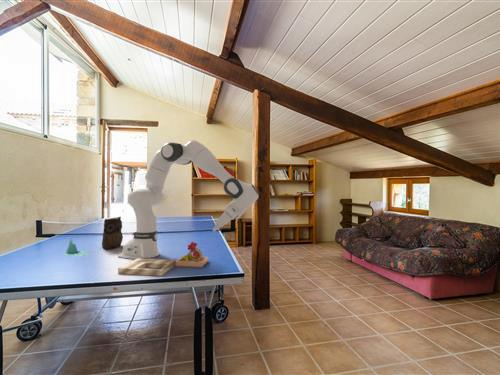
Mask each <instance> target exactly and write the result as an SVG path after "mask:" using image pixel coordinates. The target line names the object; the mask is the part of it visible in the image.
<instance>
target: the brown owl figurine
mask: <svg viewBox="0 0 500 375" xmlns="http://www.w3.org/2000/svg"><path fill="white" fill-rule="evenodd" d="M103 222H104V223H103V232H102V240H101V248H103V249H104V251H105V250H106V251H109V250H110V251H111V250H115V249H118V248H121V246H122V242H123V238H124V236H123V232H122V228H123V222H122V219H121V216H118V217H110V218H105V219H104V221H103Z"/></svg>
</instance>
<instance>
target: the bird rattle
mask: <svg viewBox="0 0 500 375" xmlns="http://www.w3.org/2000/svg"><path fill="white" fill-rule="evenodd" d="M197 246H198V244H197V243H196V242H194V241H191V242H190V243H189V244H188V245H187V250H188V251H189V252H188V253H187V254H185V255H183V256H184V259H185V261H187V262H190V260H192V261H196V262H199V260H200V259H201V257H203V252H202V250H201V249H200V248H198V247H197ZM192 256H193V257H192Z"/></svg>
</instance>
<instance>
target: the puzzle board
mask: <svg viewBox="0 0 500 375" xmlns="http://www.w3.org/2000/svg"><path fill="white" fill-rule="evenodd" d="M176 261H177V260H176V259H153V258H144V259H132V261H130V262H128V263H125V264H124V265H121V266H119V267H118V268H117V274H120V275H140V276H141V275H143V276H160V277H161V276H164V275H165V274H166V273H168V272H169V271H170V270H172V268H174V267H175V262H176Z"/></svg>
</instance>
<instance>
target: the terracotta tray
mask: <svg viewBox="0 0 500 375" xmlns="http://www.w3.org/2000/svg"><path fill="white" fill-rule="evenodd" d="M184 256H185V255H183V256H181V257H180V258H178V259H177V260H176V262H175V266H174V267H178V268H181V267H182V268H199V269H201V268H204V266H206V264H207V263H208V262H209V256H202V257H201V259H200V260H199V262H196V261H192V260H190V262H187V261H185V259H184ZM192 257H193V255H192Z"/></svg>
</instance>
